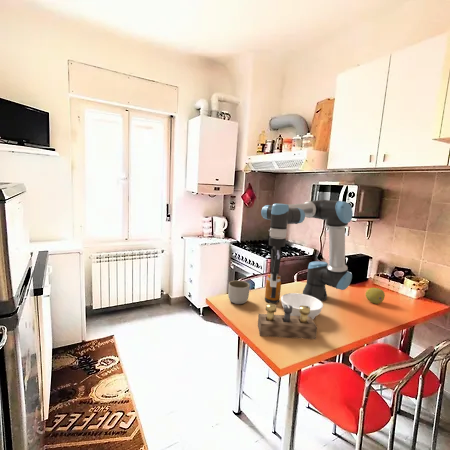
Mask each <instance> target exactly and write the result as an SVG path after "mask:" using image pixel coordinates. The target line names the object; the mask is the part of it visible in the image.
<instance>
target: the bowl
mask: <svg viewBox="0 0 450 450" xmlns="http://www.w3.org/2000/svg"><path fill="white" fill-rule="evenodd" d="M280 300H281V305H282V307H283V309H284V305H290V306H292V313H291V314H290V316H301V313H300V312H299V309H300V306H308V307H310V314H309V315H308V317H311V318H312V320H313V321H314V320H315V318H316V317H317V316H318V315H320V313H321V312H322V309H323V308H324V304H323V301H320V300H318V299H317V298H315V297H312V296H309V295H305V294H303V293H297V292H290V293H285V294H283V295H281V296H280Z"/></svg>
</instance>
